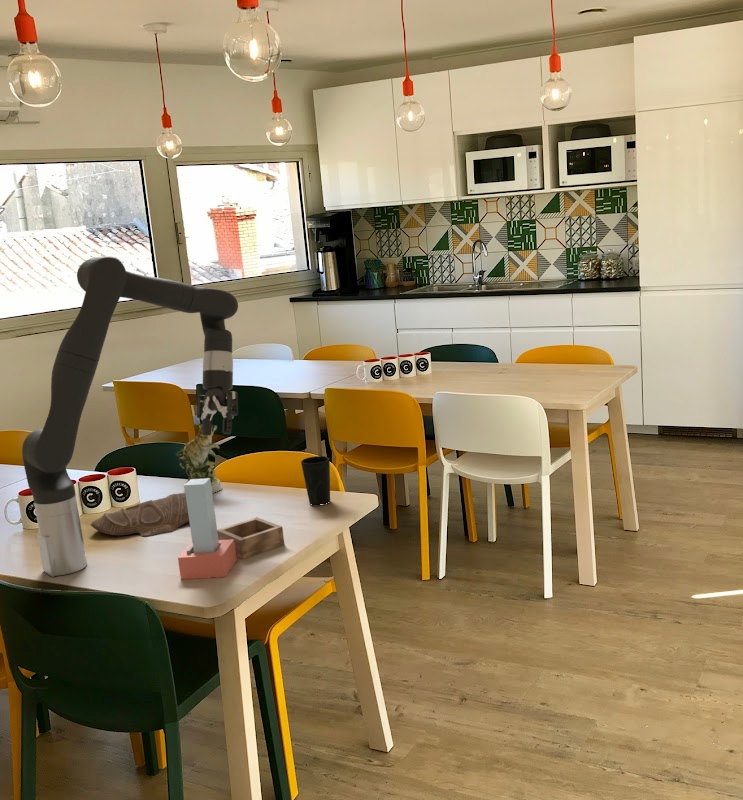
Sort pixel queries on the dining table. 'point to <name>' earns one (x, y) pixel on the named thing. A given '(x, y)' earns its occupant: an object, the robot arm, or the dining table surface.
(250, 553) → the tray
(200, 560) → the pink square holder
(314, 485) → the cup
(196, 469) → the figurine
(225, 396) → the robot arm
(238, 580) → the dining table surface
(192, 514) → the pale blue tall pillar
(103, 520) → the decorative mask
